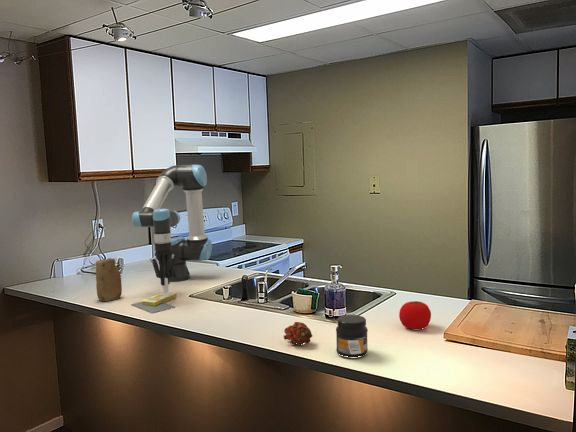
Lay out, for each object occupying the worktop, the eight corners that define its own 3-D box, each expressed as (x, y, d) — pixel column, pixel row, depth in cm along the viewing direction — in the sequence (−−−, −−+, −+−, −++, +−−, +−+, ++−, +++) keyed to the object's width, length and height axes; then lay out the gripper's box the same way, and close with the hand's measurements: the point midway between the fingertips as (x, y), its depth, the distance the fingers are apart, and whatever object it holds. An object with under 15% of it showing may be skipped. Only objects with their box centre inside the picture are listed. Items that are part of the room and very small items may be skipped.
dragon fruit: (310, 353, 170) (286, 349, 179) (321, 333, 175) (297, 331, 184) (298, 337, 167) (274, 334, 175) (309, 318, 171) (285, 316, 180)
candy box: (177, 297, 240) (163, 295, 243) (177, 293, 240) (163, 291, 243) (154, 306, 225) (141, 304, 229) (154, 302, 225) (140, 299, 229)
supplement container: (356, 362, 158) (355, 326, 156) (330, 354, 165) (329, 319, 163) (373, 352, 165) (373, 317, 164) (348, 345, 172) (347, 312, 171)
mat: (154, 299, 238) (154, 298, 238) (175, 307, 224) (175, 306, 224) (130, 304, 230) (130, 304, 230) (152, 313, 216) (151, 312, 216)
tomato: (412, 335, 181) (412, 307, 180) (393, 325, 191) (393, 299, 190) (437, 330, 185) (438, 303, 184) (418, 321, 196) (418, 295, 195)
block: (101, 303, 234) (98, 262, 232) (96, 300, 240) (93, 259, 238) (123, 298, 241) (121, 258, 239) (118, 295, 247) (115, 256, 245)
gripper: (154, 244, 221) (157, 295, 224) (179, 241, 230) (181, 290, 233) (146, 243, 227) (149, 293, 229) (171, 239, 236) (173, 287, 238)
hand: (165, 291), depth 231 cm, fingers closed
